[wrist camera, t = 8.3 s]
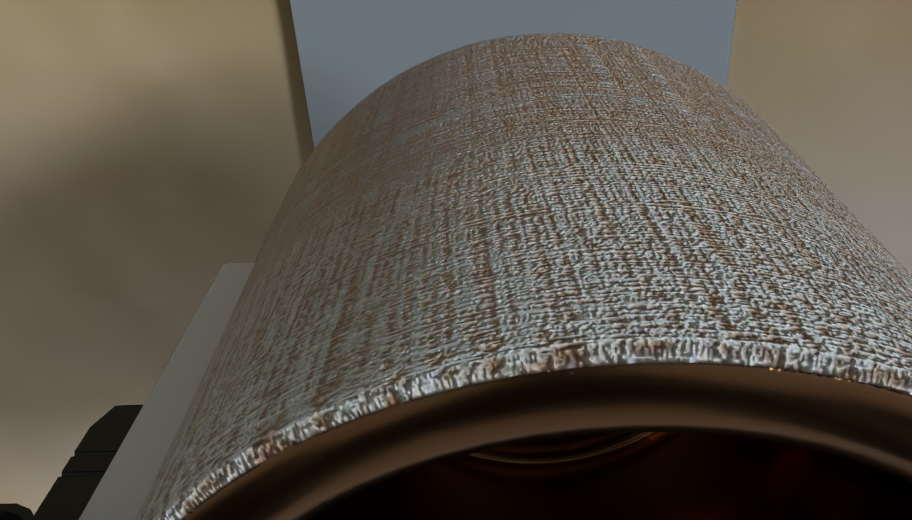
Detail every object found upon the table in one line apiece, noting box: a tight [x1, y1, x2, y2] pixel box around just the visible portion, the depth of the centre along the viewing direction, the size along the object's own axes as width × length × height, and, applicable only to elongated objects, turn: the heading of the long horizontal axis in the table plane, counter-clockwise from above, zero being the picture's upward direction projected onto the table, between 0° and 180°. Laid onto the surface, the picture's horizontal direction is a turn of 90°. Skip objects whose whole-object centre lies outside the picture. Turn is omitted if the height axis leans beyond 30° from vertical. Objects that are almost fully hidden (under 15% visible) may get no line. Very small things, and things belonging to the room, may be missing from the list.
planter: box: [135, 33, 912, 520], centre depth 12 cm, size 11×11×10 cm
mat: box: [290, 0, 737, 149], centre depth 22 cm, size 12×12×1 cm
